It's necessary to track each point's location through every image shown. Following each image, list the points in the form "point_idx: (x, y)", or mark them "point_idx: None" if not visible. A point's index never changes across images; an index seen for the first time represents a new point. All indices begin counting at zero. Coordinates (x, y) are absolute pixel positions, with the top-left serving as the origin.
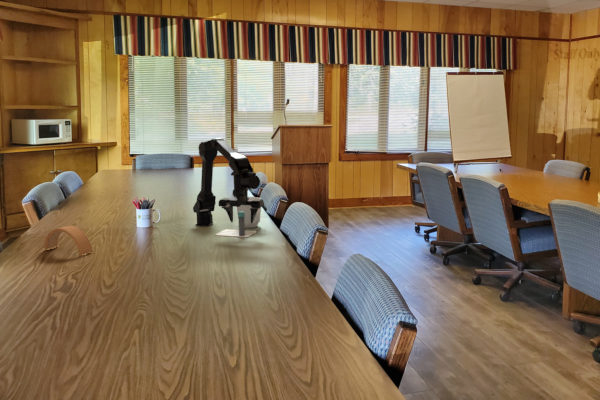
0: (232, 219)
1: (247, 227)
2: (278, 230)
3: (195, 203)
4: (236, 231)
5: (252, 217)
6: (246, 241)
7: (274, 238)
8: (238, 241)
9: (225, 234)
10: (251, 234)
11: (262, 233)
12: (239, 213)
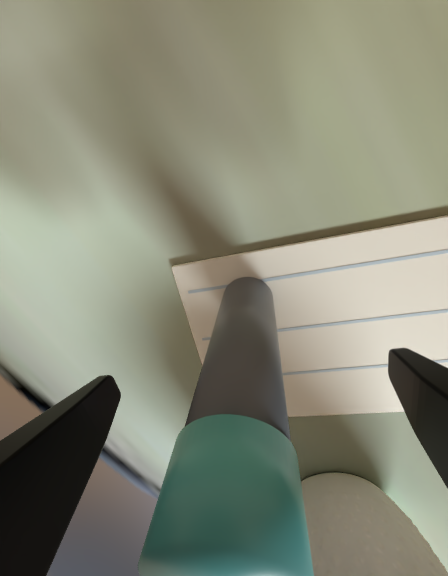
0: (408, 400)
1: (328, 474)
2: (129, 459)
3: None
4: (352, 376)
5: (12, 436)
6: (88, 137)
7: (5, 310)
8: (148, 95)
9: (406, 261)
10: (195, 341)
11: (159, 390)
12: (224, 510)
